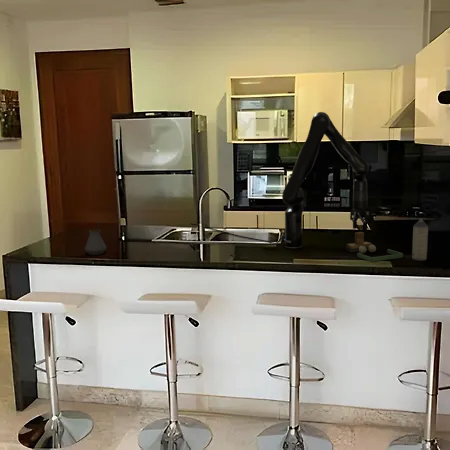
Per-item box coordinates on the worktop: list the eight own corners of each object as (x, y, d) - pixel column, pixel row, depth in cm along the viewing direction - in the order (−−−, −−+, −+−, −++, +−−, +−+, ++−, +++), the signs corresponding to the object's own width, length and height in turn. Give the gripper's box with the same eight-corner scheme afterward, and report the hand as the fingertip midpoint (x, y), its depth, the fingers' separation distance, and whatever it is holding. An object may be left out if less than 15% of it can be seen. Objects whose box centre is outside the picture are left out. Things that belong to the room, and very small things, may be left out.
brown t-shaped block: (346, 250, 283) (346, 233, 282) (366, 248, 288) (366, 230, 286) (351, 252, 279) (351, 234, 277) (372, 249, 284) (372, 232, 282)
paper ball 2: (366, 251, 279) (366, 244, 279) (372, 251, 281) (373, 243, 280) (371, 253, 276) (371, 245, 275) (377, 252, 277) (377, 245, 276)
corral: (356, 256, 269) (357, 252, 269) (388, 252, 276) (388, 248, 276) (371, 261, 259) (371, 257, 259) (403, 257, 266) (403, 253, 266)
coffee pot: (104, 255, 285) (102, 227, 282) (82, 256, 285) (80, 228, 282) (111, 246, 306) (110, 221, 303) (91, 247, 306) (89, 221, 303)
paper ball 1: (356, 253, 277) (357, 245, 276) (363, 252, 279) (363, 244, 278) (361, 254, 273) (361, 247, 273) (368, 253, 275) (368, 246, 274)
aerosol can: (423, 257, 265) (424, 217, 262) (429, 260, 258) (431, 219, 255) (409, 257, 265) (411, 218, 261) (415, 261, 258) (417, 220, 255)
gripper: (374, 200, 273) (374, 231, 276) (358, 197, 286) (357, 227, 289) (362, 201, 271) (361, 232, 273) (346, 198, 284) (345, 228, 286)
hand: (359, 229), depth 281 cm, fingers open, 8 cm apart
